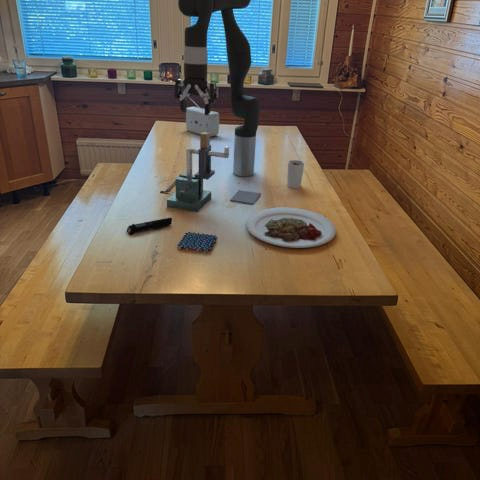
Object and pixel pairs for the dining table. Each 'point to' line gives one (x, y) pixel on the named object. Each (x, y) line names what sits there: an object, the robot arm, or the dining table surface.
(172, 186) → the tomahawk
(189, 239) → the woven mat
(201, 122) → the stereo radio cassette player
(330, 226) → the plated food
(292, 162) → the grey cup
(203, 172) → the brown and black post
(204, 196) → the vise
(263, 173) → the dining table surface
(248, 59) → the robot arm
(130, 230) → the electric trimmer
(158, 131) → the dining table surface
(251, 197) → the slate pad
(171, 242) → the dining table surface
